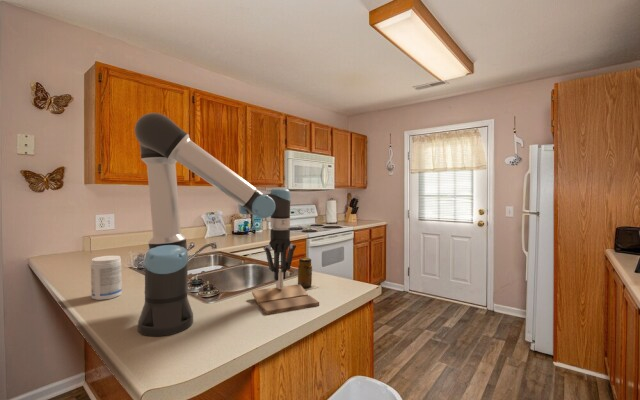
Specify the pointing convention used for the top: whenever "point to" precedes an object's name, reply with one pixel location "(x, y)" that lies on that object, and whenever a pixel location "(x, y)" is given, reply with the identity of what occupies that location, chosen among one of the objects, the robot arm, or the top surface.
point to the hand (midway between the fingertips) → (279, 287)
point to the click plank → (278, 293)
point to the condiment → (305, 273)
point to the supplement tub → (106, 277)
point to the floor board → (288, 304)
